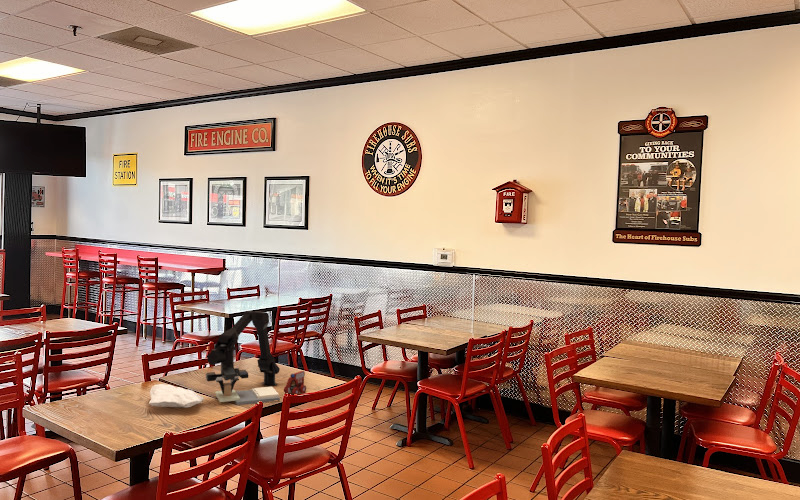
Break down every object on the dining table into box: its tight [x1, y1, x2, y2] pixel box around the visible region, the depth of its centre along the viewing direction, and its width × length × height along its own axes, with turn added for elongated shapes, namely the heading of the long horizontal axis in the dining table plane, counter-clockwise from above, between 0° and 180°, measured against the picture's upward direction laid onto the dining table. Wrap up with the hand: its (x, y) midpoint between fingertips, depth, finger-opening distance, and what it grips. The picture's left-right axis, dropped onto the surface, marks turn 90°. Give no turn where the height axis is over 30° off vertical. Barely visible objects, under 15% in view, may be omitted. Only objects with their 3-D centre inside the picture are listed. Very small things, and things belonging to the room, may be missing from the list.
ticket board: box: [233, 386, 281, 406], centre depth 297 cm, size 18×20×3 cm
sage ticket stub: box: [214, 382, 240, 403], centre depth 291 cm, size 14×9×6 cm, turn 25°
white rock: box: [148, 383, 205, 408], centre depth 280 cm, size 24×35×9 cm
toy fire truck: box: [283, 370, 307, 395], centre depth 306 cm, size 7×12×10 cm, turn 148°
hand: (226, 393), depth 291 cm, fingers closed on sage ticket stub, 3 cm apart
